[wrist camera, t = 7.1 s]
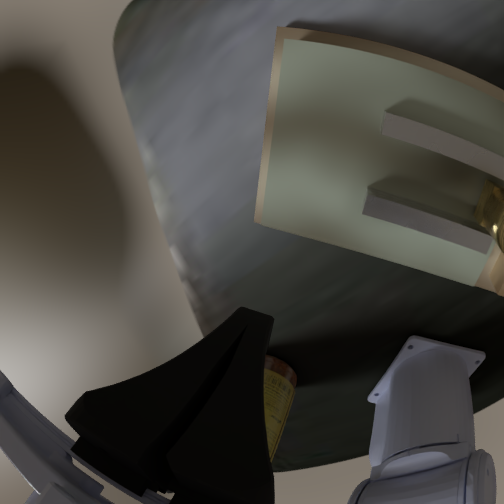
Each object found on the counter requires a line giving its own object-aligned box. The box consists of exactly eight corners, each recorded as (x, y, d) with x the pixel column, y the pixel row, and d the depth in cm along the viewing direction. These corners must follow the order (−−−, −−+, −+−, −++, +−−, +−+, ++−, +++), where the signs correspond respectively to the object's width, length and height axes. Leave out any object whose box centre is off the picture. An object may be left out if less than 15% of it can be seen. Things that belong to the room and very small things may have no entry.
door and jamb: (558, 307, 14) (570, 332, 11) (259, 215, 20) (242, 236, 18) (614, 175, 7) (636, 190, 5) (281, 29, 13) (265, 18, 11)
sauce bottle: (232, 345, 28) (123, 530, 12) (297, 353, 25) (204, 570, 9) (246, 386, 31) (163, 544, 15) (302, 394, 28) (231, 571, 12)
